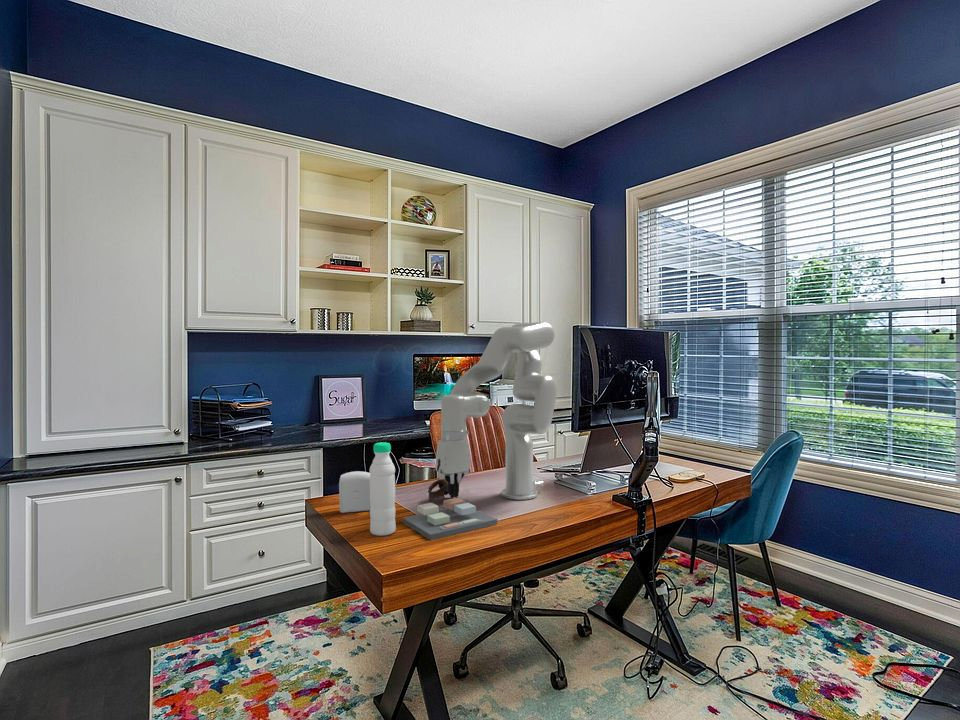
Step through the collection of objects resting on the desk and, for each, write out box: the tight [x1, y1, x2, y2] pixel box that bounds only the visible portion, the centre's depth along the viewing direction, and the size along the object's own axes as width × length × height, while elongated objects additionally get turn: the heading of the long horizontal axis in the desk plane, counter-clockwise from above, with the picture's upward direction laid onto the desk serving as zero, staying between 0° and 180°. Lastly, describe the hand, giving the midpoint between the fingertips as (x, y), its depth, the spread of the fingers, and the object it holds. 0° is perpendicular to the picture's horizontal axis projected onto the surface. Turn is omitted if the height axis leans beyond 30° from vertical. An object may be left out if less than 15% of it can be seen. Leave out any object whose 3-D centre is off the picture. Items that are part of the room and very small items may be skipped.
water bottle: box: [369, 441, 397, 537], centre depth 149 cm, size 7×7×25 cm
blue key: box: [454, 502, 477, 515], centre depth 157 cm, size 5×4×2 cm
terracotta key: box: [443, 497, 466, 510], centre depth 162 cm, size 5×4×2 cm
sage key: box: [427, 512, 450, 526], centre depth 152 cm, size 5×4×2 cm
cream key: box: [416, 502, 440, 515], centre depth 157 cm, size 5×4×2 cm
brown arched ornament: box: [427, 478, 459, 502], centre depth 180 cm, size 12×10×8 cm
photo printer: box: [338, 470, 371, 514], centre depth 168 cm, size 10×4×12 cm, turn 104°
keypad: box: [402, 508, 498, 541], centre depth 156 cm, size 22×17×2 cm
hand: (453, 495), depth 162 cm, fingers closed
